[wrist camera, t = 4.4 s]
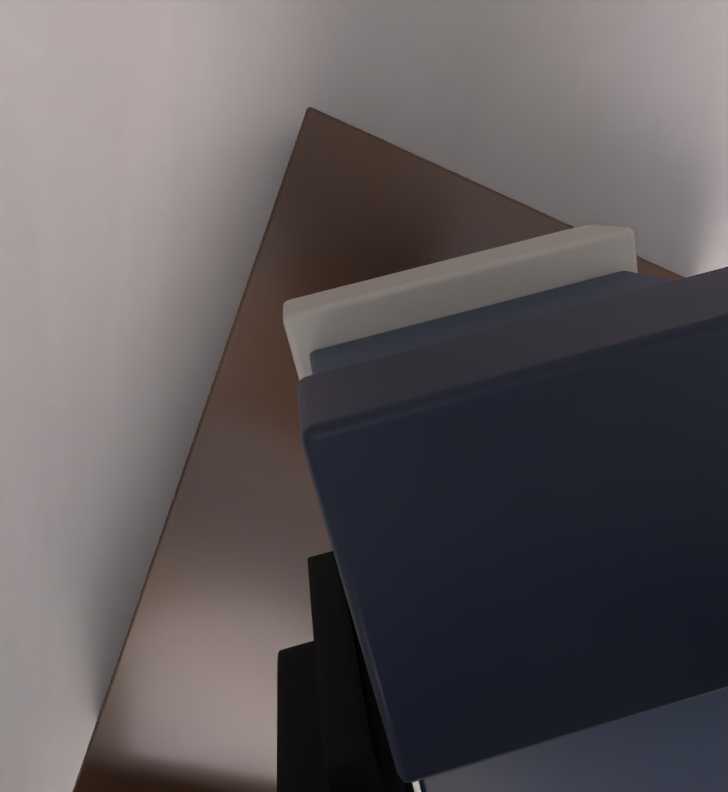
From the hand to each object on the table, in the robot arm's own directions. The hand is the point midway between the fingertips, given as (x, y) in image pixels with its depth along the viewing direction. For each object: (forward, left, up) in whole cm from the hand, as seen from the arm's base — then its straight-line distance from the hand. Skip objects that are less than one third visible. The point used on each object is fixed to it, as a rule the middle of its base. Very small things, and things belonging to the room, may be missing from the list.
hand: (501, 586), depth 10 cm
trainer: (0, 0, 0) cm, 0 cm away
